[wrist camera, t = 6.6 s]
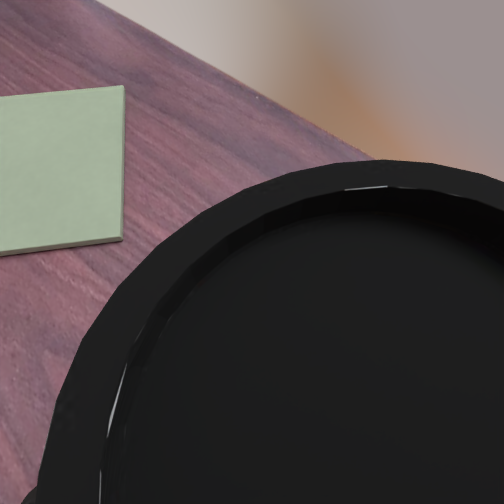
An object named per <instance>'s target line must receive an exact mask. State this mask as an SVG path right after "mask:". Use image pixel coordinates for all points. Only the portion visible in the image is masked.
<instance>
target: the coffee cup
mask: <svg viewBox="0 0 504 504" xmlns="http://www.w3.org/2000/svg"><path fill="white" fill-rule="evenodd" d="M35 504H504V182H502V181H499V180H497V179H494V178H491V177H489V176H486V175H483V174H479V173H475V172H470V171H466V170H461V169H457V168H452V167H447V166H443V165H438V164H433V163H424V162H423V163H422V162H410V161H396V160H395V161H394V160H371V161H357V162H343V163H334V164H329V165H324V166H319V167H315V168H310V169H305V170H300V171H296V172H291V173H288V174H285V175H282V176H279V177H277V178H274V179H271V180H268V181H265V182H263V183H260V184H257V185H254V186H252V187H249V188H246V189H244V190H242V191H240V192H238V193H236V194H235V195H233V196H231V197H229V198H227V199H225V200H224V201H222V202H220V203H218V204H216V205H214V206H212V207H211V208H209V209H207V210H205V211H203V212H201V213H200V214H199V215H197V216H196V217H195V218H193V219H192V220H191V221H189V222H188V223H187V224H185V225H184V226H183V227H181V228H180V229H179V230H177V231H176V232H175V233H173V234H172V235H171V236H169V237H168V238H167V239H166V240H164V241H163V242H162V243H160V244H159V245H158V246H157V247H156V248H155V249H154V250H153V251H152V252H151V253H150V254H149V255H148V256H147V257H146V258H145V259H144V260H143V261H142V262H141V263H140V264H139V265H138V266H137V267H136V268H135V270H134V271H133V272H132V273H131V274H130V275H129V276H128V277H127V278H126V279H125V280H124V281H123V282H122V283H121V284H120V285H119V286H118V287H117V289H116V290H115V292H114V293H113V294H112V296H111V297H110V299H109V300H108V302H107V303H106V305H105V306H104V308H103V309H102V311H101V312H100V314H99V315H98V317H97V318H96V320H95V321H94V323H93V324H92V325H91V327H90V328H89V330H88V331H87V333H86V334H85V336H84V337H83V339H82V341H81V343H80V346H79V348H78V350H77V353H76V355H75V357H74V360H73V362H72V364H71V367H70V369H69V372H68V374H67V376H66V379H65V381H64V383H63V386H62V388H61V390H60V393H59V395H58V398H57V400H56V403H55V407H54V411H53V415H52V419H51V423H50V428H49V432H48V436H47V440H46V444H45V448H44V452H43V456H42V460H41V465H40V469H39V474H38V483H37V491H36V499H35Z"/></svg>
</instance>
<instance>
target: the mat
mask: <svg viewBox="0 0 504 504" xmlns="http://www.w3.org/2000/svg"><path fill="white" fill-rule="evenodd" d="M124 147H125V89H124V86H123V85H122V86H111V87H100V88H89V89H79V90H68V91H57V92H46V93H35V94H25V95H14V96H3V97H0V256H5V255H13V254H21V253H29V252H37V251H45V250H53V249H61V248H69V247H76V246H84V245H92V244H100V243H108V242H116V241H122V240H123V206H124Z"/></svg>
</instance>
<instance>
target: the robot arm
mask: <svg viewBox="0 0 504 504" xmlns="http://www.w3.org/2000/svg"><path fill="white" fill-rule="evenodd" d="M36 491H37V486H36V487H35V488H34V489H33V490H32V491H31V492H29V493H28V495H27V496H26V497H25V499H24V500H23V502H22V503H21V504H35V499H36Z"/></svg>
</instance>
